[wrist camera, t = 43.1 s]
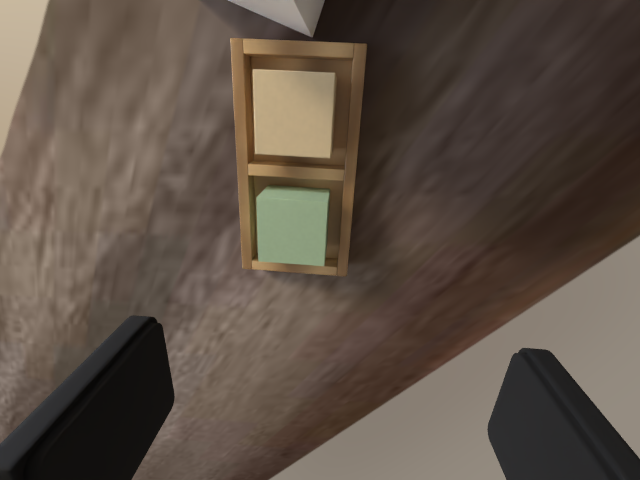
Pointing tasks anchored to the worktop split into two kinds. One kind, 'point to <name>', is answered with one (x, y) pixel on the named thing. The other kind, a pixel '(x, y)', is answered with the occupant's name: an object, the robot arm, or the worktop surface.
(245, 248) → the divided wooden tray
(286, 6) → the milk
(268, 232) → the green block
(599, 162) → the worktop surface
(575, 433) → the robot arm
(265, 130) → the tan block
